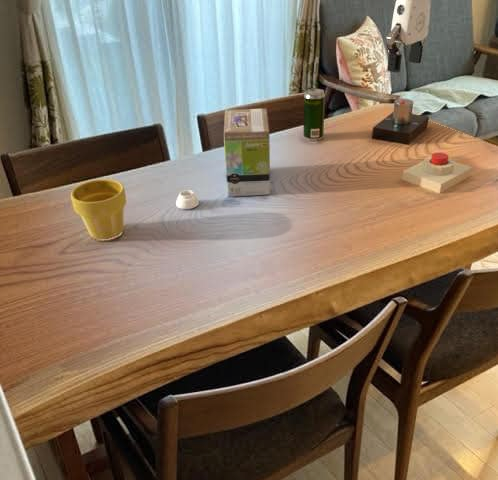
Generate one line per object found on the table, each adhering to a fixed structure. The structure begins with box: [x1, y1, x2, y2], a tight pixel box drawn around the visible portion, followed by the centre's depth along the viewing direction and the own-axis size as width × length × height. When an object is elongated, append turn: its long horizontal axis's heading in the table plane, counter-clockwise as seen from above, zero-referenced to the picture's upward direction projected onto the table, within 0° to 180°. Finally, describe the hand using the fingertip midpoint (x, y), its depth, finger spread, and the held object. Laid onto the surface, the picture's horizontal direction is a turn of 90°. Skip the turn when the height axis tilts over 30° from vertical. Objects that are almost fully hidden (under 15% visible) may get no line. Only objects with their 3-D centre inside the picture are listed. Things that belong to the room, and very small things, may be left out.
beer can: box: [302, 88, 326, 142], centre depth 142 cm, size 5×5×12 cm
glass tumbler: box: [392, 98, 414, 125], centre depth 142 cm, size 5×5×6 cm
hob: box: [371, 111, 430, 146], centre depth 145 cm, size 14×10×3 cm
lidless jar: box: [175, 189, 200, 210], centre depth 118 cm, size 5×3×5 cm
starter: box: [401, 155, 473, 194], centre depth 122 cm, size 12×10×4 cm
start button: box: [431, 152, 450, 166], centre depth 121 cm, size 4×4×2 cm
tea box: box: [223, 108, 271, 197], centre depth 122 cm, size 15×10×15 cm, turn 1°
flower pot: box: [70, 178, 127, 242], centre depth 108 cm, size 10×10×10 cm
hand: (404, 66), depth 134 cm, fingers open, 9 cm apart
